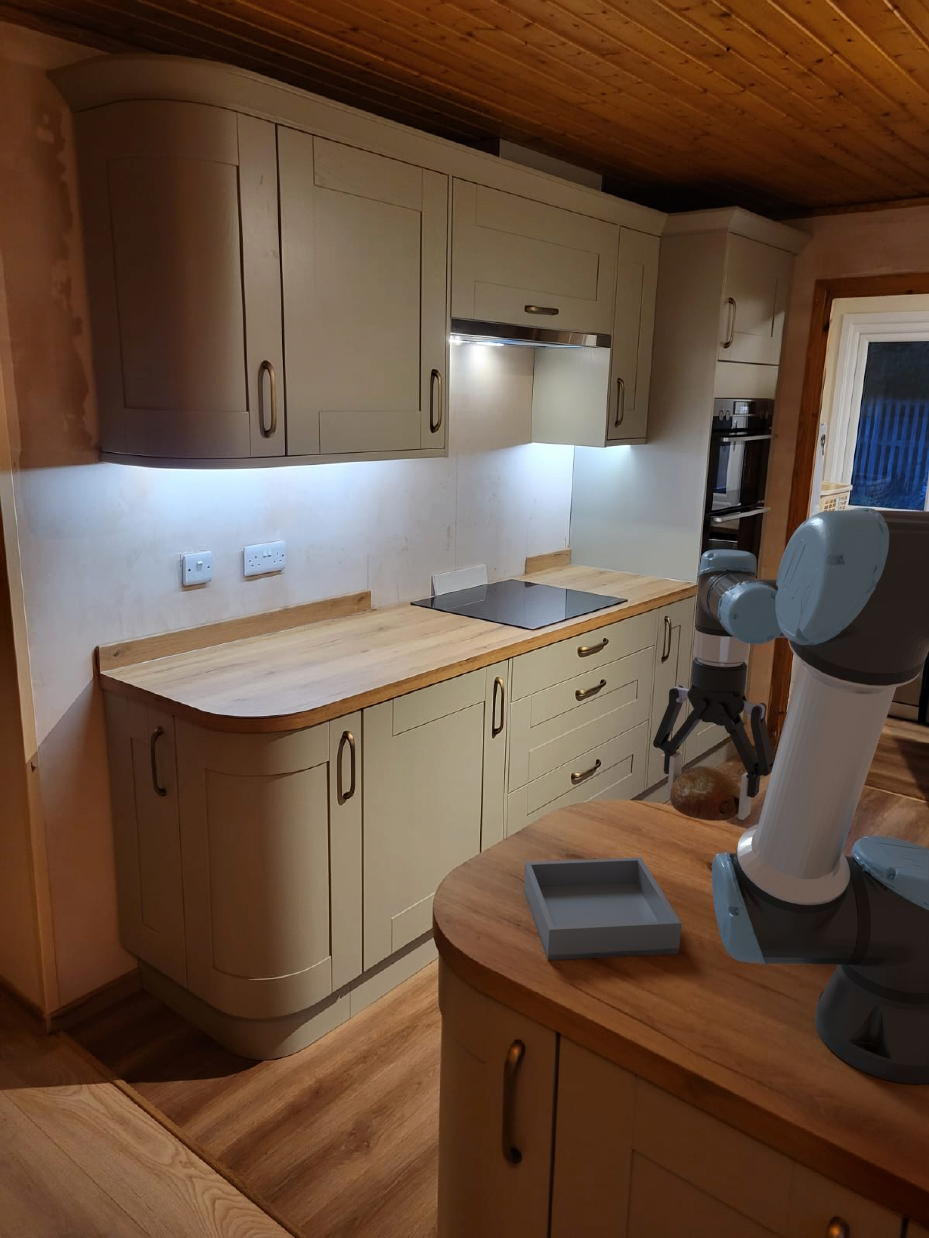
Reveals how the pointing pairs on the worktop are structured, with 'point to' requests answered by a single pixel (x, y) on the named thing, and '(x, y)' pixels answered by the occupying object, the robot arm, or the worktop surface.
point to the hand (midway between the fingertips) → (707, 805)
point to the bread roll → (705, 794)
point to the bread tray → (600, 909)
